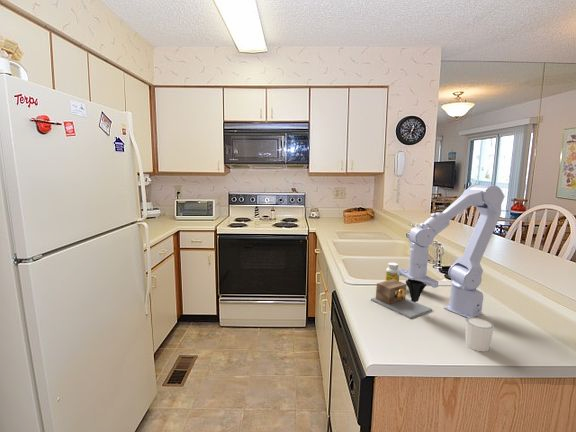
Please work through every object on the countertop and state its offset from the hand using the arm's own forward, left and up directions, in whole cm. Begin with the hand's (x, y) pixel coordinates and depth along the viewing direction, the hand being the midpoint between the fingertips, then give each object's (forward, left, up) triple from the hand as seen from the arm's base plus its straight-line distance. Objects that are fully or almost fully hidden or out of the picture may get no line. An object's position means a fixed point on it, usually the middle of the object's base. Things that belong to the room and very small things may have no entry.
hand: (414, 300), depth 110 cm
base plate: (+6, 0, -4) cm, 7 cm away
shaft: (+10, 0, -2) cm, 10 cm away
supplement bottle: (+20, -13, -4) cm, 24 cm away
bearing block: (+10, 0, -4) cm, 11 cm away
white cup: (-23, +4, -4) cm, 24 cm away
